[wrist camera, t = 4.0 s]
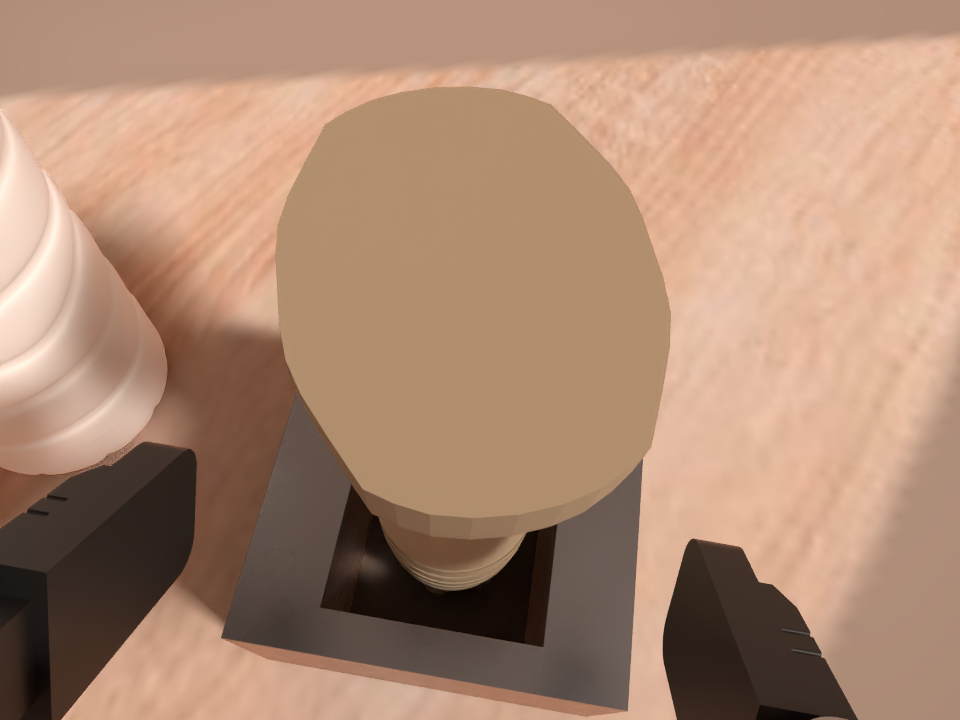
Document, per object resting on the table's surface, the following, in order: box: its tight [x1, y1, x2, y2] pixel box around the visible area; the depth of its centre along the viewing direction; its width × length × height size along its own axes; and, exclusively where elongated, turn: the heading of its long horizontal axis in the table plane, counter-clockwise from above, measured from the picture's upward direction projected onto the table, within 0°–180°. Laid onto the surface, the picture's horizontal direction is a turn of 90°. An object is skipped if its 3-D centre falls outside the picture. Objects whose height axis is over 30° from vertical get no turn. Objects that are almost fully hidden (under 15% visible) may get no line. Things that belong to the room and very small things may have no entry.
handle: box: [275, 87, 671, 596], centre depth 16 cm, size 5×6×15 cm
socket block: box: [221, 393, 643, 717], centre depth 20 cm, size 9×8×5 cm
